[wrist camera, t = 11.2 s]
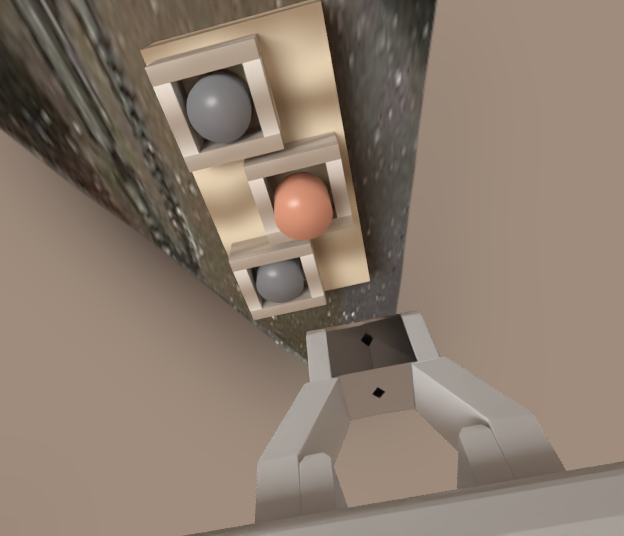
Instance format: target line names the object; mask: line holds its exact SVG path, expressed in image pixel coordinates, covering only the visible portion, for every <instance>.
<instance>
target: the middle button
mask: <svg viewBox="0 0 624 536" xmlns="http://www.w3.org/2000/svg"><path fill="white" fill-rule="evenodd" d="M332 216H333V211H332V206H331V202H330V198H329V193H328V190H327V187H326V185H325V183H324V182H323V181H322V180H321V179H320V178H319V177H317V176H316V175H314V174H311V173H307V172H297V173H293V174H290V175H288V176H286V177H285V178H284V179H282V180H281V182H280V183H279V184H278V186H277V188H276V190H275V196H274V219H275V223H276V225H277V227H278V228H279V230H280V231H281V232H282V233H283V234H284V235H286V236H288V237H290V238H292V239H295V240H310V239H314V238H316V237H318V236H320V235H321V234H323V233H324V232H325V231H326V230H327V229H328V227H329V226H330V223H331V221H332Z"/></svg>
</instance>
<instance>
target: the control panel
mask: <svg viewBox="0 0 624 536" xmlns="http://www.w3.org/2000/svg"><path fill="white" fill-rule="evenodd" d="M140 52H141V54H142V56H143V59H144V61H145V63H146V65H147V67H145V70H146V72H147V74H148V77H149V79H150V81H151V83H152V86H153V88H154V90H155V93H156V95H157V97H158V100H159V102H160V104H161V107H162V109H163V111H164V113H165V116H166V118H167V120H168V123H169V125H170V127H171V130H172V132H173V134H174V137H175V139H176V141H177V143H178V146H179V148H180V150H181V153H182V155H183V157H184V160H185V162H186V164H187V166H188V169H189V171H190V172H192V173H193V175H194V177H195V180H196V182H197V184H198V187H199V189H200V191H201V193H202V196H203V198H204V200H205V203H206V205H207V207H208V210H209V212H210V214H211V217H212V219H213V221H214V224H215V226H216V228H217V231H218V233H219V235H220V238H221V240H222V242H223V245H224V247H225V249H226V252H227V254H228V256H229V263H230V266H231V268H232V270H233V273H234V275H235V277H236V280H237V282H238V284H239V286H240V289H241V291H242V293H243V296H244V298H245V300H246V303H247V305H248V307H249V309H250V312H251V314H252V316H253V319H254V320H257V319H261V318H266V317H270V316H275V315H280V314H284V313H289V312H294V311H298V310H303V309H308V308H312V307H317V306H321V305H326V297H325V291H328V290H332V289H337V288H341V287H346V286H350V285H355V284H360V283H364V282H369V281H370V278H369V272H368V266H367V261H366V255H365V249H364V244H363V238H362V232H361V227H360V221H359V215H358V209H357V204H356V198H355V192H354V187H353V181H352V175H351V170H350V164H349V158H348V152H347V147H346V141H345V135H344V130H343V124H342V118H341V113H340V107H339V101H338V95H337V90H336V84H335V78H334V73H333V67H332V61H331V56H330V50H329V44H328V38H327V33H326V27H325V21H324V16H323V10H322V4H321V1H320V0H308V1H304V2H301V3H297V4H293V5H290V6H286V7H282V8H279V9H275V10H272V11H268V12H264V13H261V14H257V15H253V16H250V17H246V18H242V19H239V20H235V21H231V22H228V23H224V24H221V25H217V26H213V27H210V28H206V29H202V30H199V31H195V32H191V33H188V34H184V35H180V36H177V37H173V38H170V39H166V40H162V41H159V42H155V43H153V44H151V45H149V46H147V47H145V48H144V49H142V50H140ZM219 69H227V70H230V71H233V72H235V73H236V74H238V75H239V76H241V77H242V78H243V79H244V80H245V82H246V83H247V84H248V86H249V88H250V91H251V95H252V98H253V109H252V114H251V120H250V124H249V126H248V128H247V130H246V132H245V133H244V134H243V135H242V136H241V137H240V138H238V139H236V140H234V141H232V142H228V143H217V142H213V141H210V140H208V139H206V138H204V137H203V136H201V135H200V134H199V133H198V132H197V131H196V130H195V129H194V127H193V126H192V124H191V123H190V120H189V118H188V115H187V107H186V106H187V98H188V95H189V93H190V91H191V89H192V88H193V87H194V85H195V84H196V83H197V81H198V80H199V79H200V77H201V76H202V75H204V74H205V73H208V72H212V71H215V70H219ZM297 172H307V173H311V174H314V175H316V176H317V177H319V178H320V179H321V180H322V181H323V182H324V183H325V185H326V187H327V190H328V193H329V198H330V202H331V206H332V211H333V216H332V221H331V223H330V226H329V227H328V229H327V230H326V231H325V232H324V233H323V234H321V235H320V236H318V237H316V238H314V239H310V240H295V239H292V238H290V237H288V236H286V235H284V234H283V233H282V232H281V231H280V230H279V228H278V227H277V225H276V223H275V219H274V196H275V190H276V188H277V186H278V184H279V183H280V182H281V180H282V179H284V178H285V177H286V176H288V175H290V174H293V173H297ZM297 257H300V259H301V263H302V269H303V281H304V287H303V290H302V292H301V294H300V295H299V296H298V297H297V298H295V299H293V300H291V301H289V302H284V303H275V302H271V301H268V300H266V299H265V298H263V297H262V296H261V295H260V294H259V292H258V290H257V286H256V282H257V267H258V266H262V265H266V264H271V263H275V262H279V261H284V260H288V259H293V258H297Z"/></svg>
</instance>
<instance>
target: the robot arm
mask: <svg viewBox="0 0 624 536" xmlns="http://www.w3.org/2000/svg"><path fill="white" fill-rule="evenodd" d="M306 338H307V350H308V363H309V374H310V382H309V383H305V384H304V385H303V387H302V389H301V391H300V392H299V394H298V396H297V397H296V399H295V400H294V402H293V404H292V406H291V407H290V409H289V411H288V412H287V414H286V416H285V417H284V419H283V421H282V422H281V424H280V426H279V427H278V429H277V431H276V433H275V434H274V436H273V438H272V439H271V441H270V443H269V444H268V446H267V448H266V449H265V451H264V453H263V454H262V456H261V458H260V459H259V461H258V466H257V488H256V489H257V490H256V513H255V524H249V525H244V526H238V527H232V528H226V529H220V530H214V531H208V532H202V533H196V534H190V535H184V536H624V461H623V462H617V463H611V464H605V465H599V466H594V467H587V468H581V469H576V470H570V471H566V470H565V468H564V466H563V464H562V463H561V461H560V459H559V457H558V456H557V454H556V452H555V451H554V449H553V447H552V445H551V444H550V442H549V440H548V439H547V437H546V435H545V433H544V432H543V430H542V428H541V426H540V425H539V423H538V421H537V420H536V418H535V416H534V414H533V413H531V412H530V411H528V410H527V409H525V408H524V407H522V406H520V405H519V404H517V403H516V402H515V401H513V400H512V399H510V398H509V397H507V396H506V395H504V394H503V393H501V392H500V391H498V390H496V389H495V388H493V387H492V386H490V385H489V384H487V383H486V382H484V381H483V380H481V379H480V378H478V377H477V376H475V375H474V374H472V373H471V372H469V371H468V370H466V369H465V368H463V367H462V366H460V365H459V364H457V363H456V362H454V361H453V360H451V359H450V358H448V357H440V355H439V352H438V350H437V348H436V345H435V343H434V341H433V338H432V336H431V334H430V332H429V329H428V327H427V324H426V322H425V320H424V318H423V315H422V313H421V311H419V310H415V311H410V312H405V313H400V314H395V315H390V316H386V317H381V318H376V319H371V320H366V321H362V322H358V323H352V324H346V325H341V326H335V327H329V328H326V329H320V330H314V331H308V332H307V336H306ZM411 409H416V411H417V412H418V413H419V414H420V415H421V416H422V417H423V418H424V419H425V420H426V421H427V422H428V423H429V424H430V425H431V426H432V427H433V428H434V429H435V430H436V431H437V432H438V433H440V434H441V435H442V436H443V437H444V438H445V439H446V440H447V441H448V442H449V443H450V444H451V445H452V446H453V447H454V448H455V449H456V450H457V451H458V473H457V489H456V490H450V491H444V492H438V493H432V494H427V495H421V496H415V497H409V498H403V499H397V500H392V501H385V502H379V503H373V504H368V505H362V506H356V507H350V508H348V507H347V503H346V501H345V498H344V495H343V492H342V489H341V486H340V483H339V480H338V477H337V475H336V472H335V469H334V464H335V462H336V459H337V457H338V454H339V451H340V449H341V446H342V444H343V441H344V439H345V436H346V433H347V430H348V428H349V426H350V421H351V420H356V419H360V418H365V417H370V416H375V415H380V414H385V413H392V412H398V411H405V410H411Z"/></svg>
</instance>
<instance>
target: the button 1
mask: <svg viewBox="0 0 624 536" xmlns="http://www.w3.org/2000/svg"><path fill="white" fill-rule="evenodd" d="M186 107H187V115H188V118H189V120H190V123H191V124H192V126H193V127H194V129H195V130H196V131H197V132H198V133H199V134H200V135H201V136H203V137H204V138H206V139H208V140H210V141H213V142H217V143H228V142H232V141H234V140H236V139H238V138H240V137H241V136H242V135H243V134H244V133H245V132H246V130H247V128H248V126H249V124H250V120H251V114H252V109H253V98H252V95H251V91H250V88H249V86H248V84H247V83H246V82H245V80H244V79H243V78H242V77H241V76H239V75H238V74H236V73H235V72H233V71H230V70H227V69H219V70H215V71H212V72H208V73H205V74H204V75H202V76H201V77H200V79H199V80H198V81H197V83H196V84H195V85H194V87H193V88H192V89H191V91H190V93H189V95H188V98H187V106H186Z"/></svg>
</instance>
